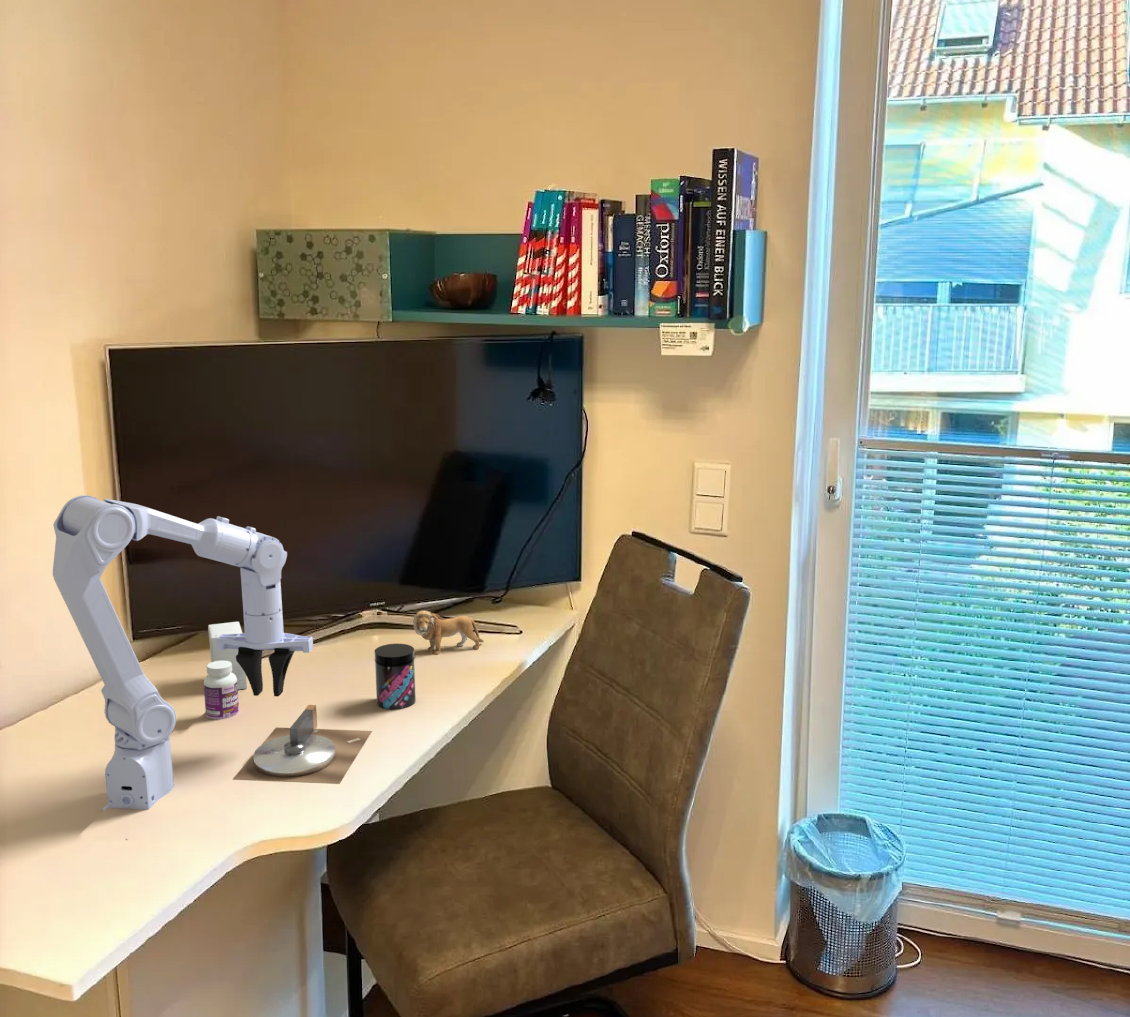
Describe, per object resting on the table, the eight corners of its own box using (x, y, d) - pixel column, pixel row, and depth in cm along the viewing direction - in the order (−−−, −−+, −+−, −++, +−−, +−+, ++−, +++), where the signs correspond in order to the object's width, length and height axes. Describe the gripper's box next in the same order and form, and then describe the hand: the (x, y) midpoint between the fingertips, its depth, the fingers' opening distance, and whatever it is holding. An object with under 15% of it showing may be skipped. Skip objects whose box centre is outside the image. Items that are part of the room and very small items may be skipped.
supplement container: (369, 712, 180) (367, 654, 178) (387, 697, 186) (384, 641, 184) (406, 717, 178) (404, 659, 176) (422, 702, 184) (420, 645, 182)
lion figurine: (419, 660, 204) (418, 616, 202) (409, 652, 209) (408, 608, 207) (488, 647, 211) (488, 604, 209) (478, 639, 216) (477, 597, 214)
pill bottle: (229, 726, 175) (225, 671, 173) (200, 723, 176) (195, 669, 174) (245, 713, 180) (241, 659, 178) (217, 710, 181) (212, 657, 179)
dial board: (339, 789, 153) (339, 782, 153) (233, 785, 154) (232, 778, 154) (372, 736, 171) (372, 730, 170) (276, 733, 172) (275, 726, 172)
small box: (247, 689, 190) (243, 633, 188) (215, 693, 188) (210, 637, 186) (243, 674, 197) (239, 620, 195) (212, 678, 195) (207, 624, 193)
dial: (321, 778, 154) (319, 747, 153) (241, 774, 155) (239, 744, 154) (350, 734, 169) (349, 706, 168) (277, 731, 170) (275, 703, 169)
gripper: (317, 603, 164) (321, 685, 167) (227, 601, 165) (233, 682, 168) (302, 617, 157) (307, 702, 160) (208, 615, 159) (215, 699, 162)
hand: (268, 693), depth 164 cm, fingers open, 3 cm apart
